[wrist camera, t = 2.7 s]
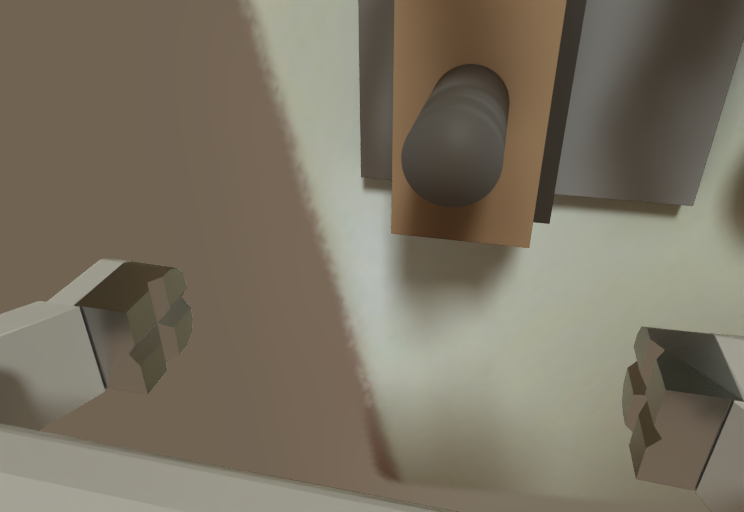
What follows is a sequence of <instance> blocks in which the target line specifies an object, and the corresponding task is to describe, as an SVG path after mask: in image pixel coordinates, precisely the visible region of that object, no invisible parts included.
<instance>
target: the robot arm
mask: <svg viewBox="0 0 744 512" xmlns="http://www.w3.org/2000/svg"><path fill="white" fill-rule="evenodd" d="M186 289H187V286H186V282H185V278H184V274H183V272H181V271H180V270H179V269H178V268H174V267H167V266H160V265H154V264H147V263H140V262H133V261H131V262H129V261H126V260H118V259H100V260H99V261H98V262H97V263H95V264H94V265H93V266H91V267H90V268H89V269H88V270H86V271H85V272H84V273H83V274H82V275H80V276H79V277H78V278H76V279H75V280H74V281H73V282H71V283H70V284H69V285H68V286H66V287H65V288H64V289H62V290H61V291H60V292H59V293H57V294H56V295H55V296H54V297H52V298H51V299H50V300H49V301H47V302H42V301H38V302H35V303H33V304H29V305H26V306H23V307H20V308H17V309H14V310H12V311H8V312H6V313H2V314H0V512H457V511H451V510H446V509H441V508H436V507H431V506H426V505H421V504H416V503H410V502H405V501H400V500H395V499H390V498H384V497H380V496H374V495H369V494H364V493H359V492H354V491H349V490H343V489H338V488H333V487H327V486H322V485H317V484H312V483H306V482H302V481H296V480H291V479H286V478H281V477H276V476H270V475H265V474H260V473H255V472H250V471H244V470H239V469H234V468H229V467H223V466H218V465H213V464H208V463H203V462H197V461H192V460H187V459H182V458H177V457H171V456H165V455H161V454H155V453H151V452H146V451H140V450H135V449H129V448H125V447H120V446H114V445H109V444H104V443H99V442H93V441H88V440H83V439H78V438H73V437H68V436H63V435H57V434H52V433H47V432H42V431H39V430H41V429H43V428H44V427H46V426H47V425H49V424H51V423H53V422H54V421H56V420H58V419H59V418H61V417H63V416H64V415H66V414H68V413H69V412H71V411H73V410H75V409H76V408H78V407H79V406H81V405H82V404H85V403H86V402H88V401H90V400H91V399H93V398H95V397H96V396H98V395H100V394H101V393H103V392H104V391H105V389H110V390H118V391H124V392H131V393H138V394H145V395H148V394H149V393H150V391H151V390H152V389H153V387H154V386H155V385H156V384H157V383H158V381H159V380H160V379H161V378H162V376H163V375H164V374H165V373H166V371H167V366H166V361H168V360H170V359H172V358H174V357H176V356H178V355H180V354H181V352H182V351H183V349H184V348H185V347H186V346H187V344H188V341H189V338H190V335H191V332H192V322H193V318H192V312H191V307H190V306H189V305H188V304H187V303H186V301H185V300H184V299H183V298H182V295H183V293H184V292H185V290H186ZM634 350H635V354H636V358H637V362H635V363H634V364H632V365H631V366H630V367H628V369H627V373H626V377H625V381H624V386H623V396H622V407H623V416H624V422H625V425H626V426H627V427H628V428H629V429H630V430H631V431H632V432H633V434H632V438H631V441H630V444H629V447H630V452H631V457H632V461H633V466H634V471H635V476H636V479H639V480H644V481H649V482H654V483H659V484H664V485H669V486H674V487H679V488H684V489H689V490H694V491H696V495H697V496H698V497H699V498H700V499H701V500H702V502H703V503H704V504H705V505H706V506H707V507H708V509H709V510H710V511H711V512H744V336H734V335H723V334H713V333H709V334H707V333H698V332H689V331H679V330H670V329H661V328H652V327H641V328H640V330H639V332H638V334H637V337H636V341H635V344H634Z"/></svg>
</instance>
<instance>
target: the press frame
mask: <svg viewBox="0 0 744 512" xmlns="http://www.w3.org/2000/svg"><path fill="white" fill-rule="evenodd" d="M358 3H359V68H360V132H361V177H364V178H376V179H387V180H392V149H393V73H394V0H358ZM743 39H744V0H587V2H586V8H585V14H584V20H583V26H582V32H581V38H580V44H579V50H578V56H577V62H576V68H575V74H574V80H573V86H572V92H571V98H570V103H569V109H568V115H567V121H566V127H565V133H564V139H563V145H562V151H561V157H560V163H559V169H558V175H557V181H556V187H555V193H554V194H560V195H571V196H582V197H594V198H605V199H617V200H628V201H640V202H651V203H663V204H674V205H686V206H693V205H694V201H695V198H696V195H697V191H698V188H699V185H700V181H701V178H702V175H703V172H704V168H705V165H706V162H707V158H708V155H709V152H710V148H711V145H712V142H713V139H714V135H715V132H716V129H717V125H718V122H719V119H720V115H721V112H722V109H723V105H724V102H725V99H726V96H727V92H728V89H729V86H730V82H731V79H732V76H733V72H734V69H735V66H736V62H737V59H738V56H739V53H740V49H741V46H742V43H743Z"/></svg>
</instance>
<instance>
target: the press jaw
mask: <svg viewBox="0 0 744 512" xmlns="http://www.w3.org/2000/svg"><path fill="white" fill-rule="evenodd" d="M586 2H587V0H394V73H393V149H392V224H391V233H392V234H401V235H411V236H420V237H430V238H439V239H449V240H458V241H468V242H477V243H486V244H496V245H505V246H515V247H524V248H529V246H530V239H531V233H532V226H533V222H536V223H547V224H549V223H550V217H551V211H552V205H553V199H554V193H555V187H556V181H557V175H558V169H559V163H560V157H561V151H562V145H563V139H564V133H565V127H566V121H567V115H568V109H569V103H570V98H571V92H572V86H573V80H574V74H575V68H576V62H577V56H578V50H579V44H580V38H581V32H582V26H583V20H584V14H585V8H586Z"/></svg>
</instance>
